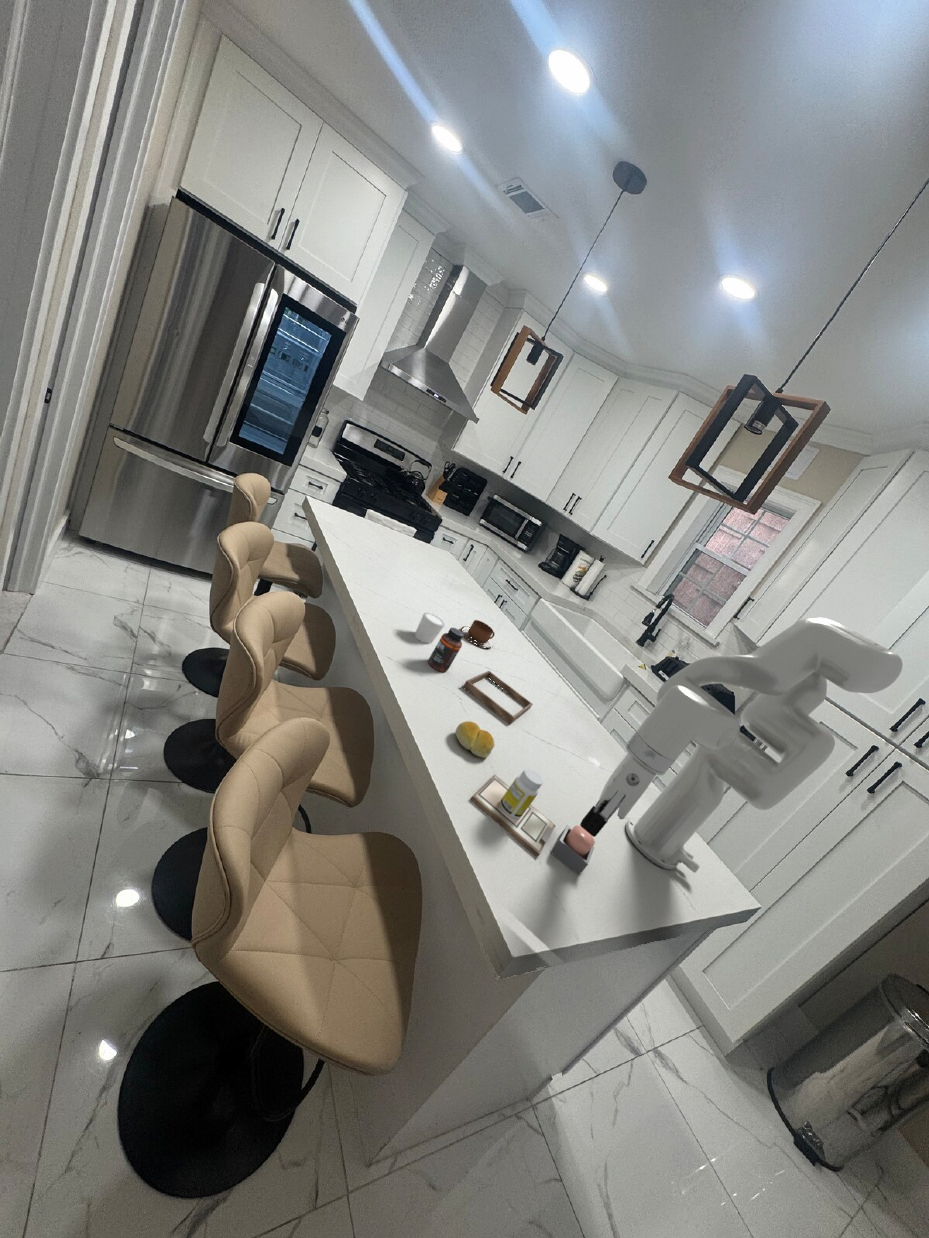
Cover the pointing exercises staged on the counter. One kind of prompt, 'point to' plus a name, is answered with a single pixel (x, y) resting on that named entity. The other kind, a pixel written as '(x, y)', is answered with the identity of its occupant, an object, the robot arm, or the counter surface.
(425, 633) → the white cup
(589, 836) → the button
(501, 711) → the frame
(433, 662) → the supplement bottle
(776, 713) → the robot arm
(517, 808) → the supplement bottle
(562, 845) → the button housing
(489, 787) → the brown double tray
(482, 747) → the bread roll
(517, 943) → the counter surface
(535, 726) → the counter surface
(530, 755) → the counter surface
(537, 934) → the counter surface
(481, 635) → the cup and saucer
